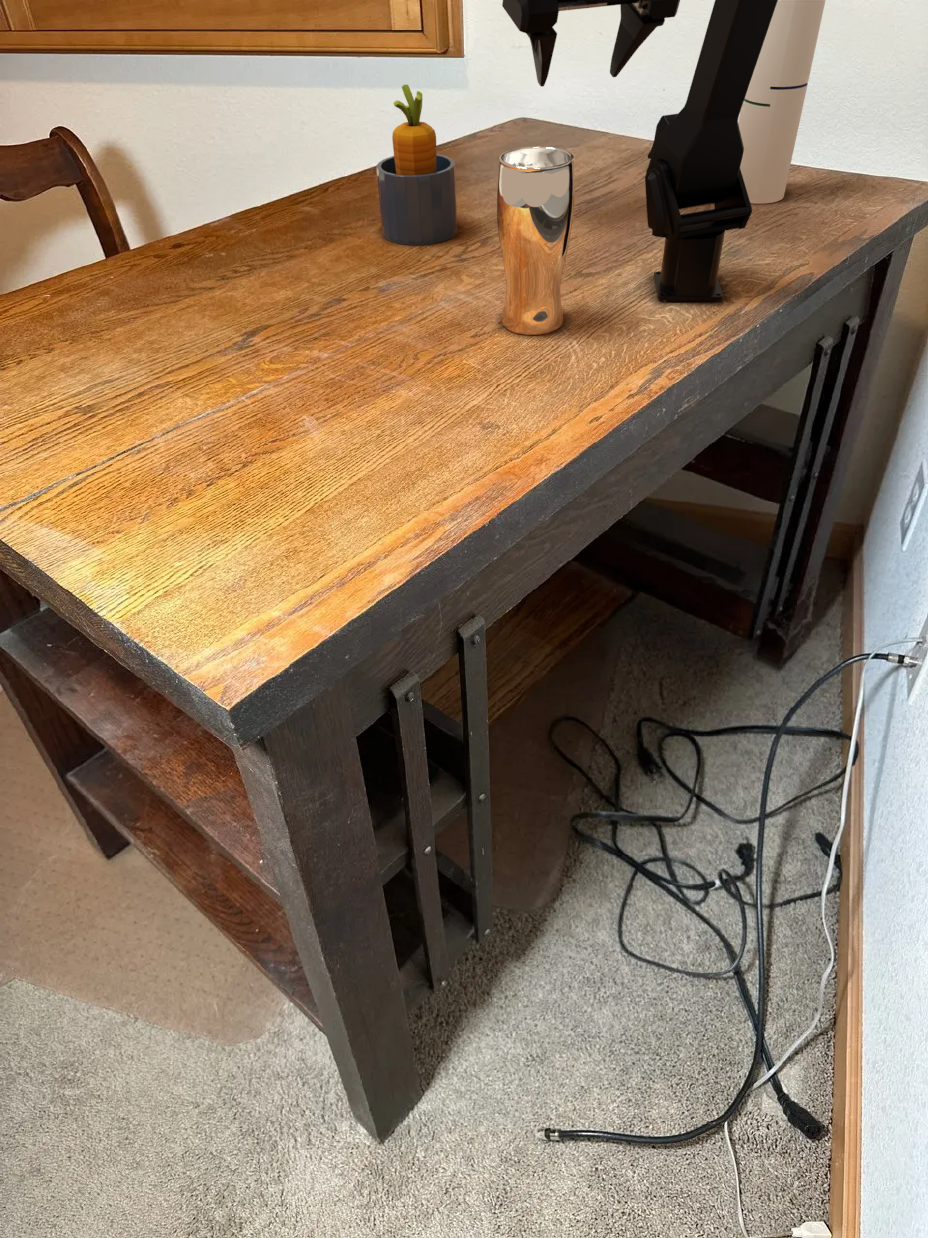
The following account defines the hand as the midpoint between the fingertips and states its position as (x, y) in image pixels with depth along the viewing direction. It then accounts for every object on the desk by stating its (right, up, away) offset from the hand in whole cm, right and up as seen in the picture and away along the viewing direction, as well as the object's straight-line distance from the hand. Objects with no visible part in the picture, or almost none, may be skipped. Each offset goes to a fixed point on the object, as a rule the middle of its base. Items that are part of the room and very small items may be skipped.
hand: (577, 79), depth 100 cm
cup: (-18, -15, +5) cm, 24 cm away
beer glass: (-6, -33, -14) cm, 36 cm away
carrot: (-18, -15, +5) cm, 24 cm away
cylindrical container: (+24, -8, +12) cm, 28 cm away
